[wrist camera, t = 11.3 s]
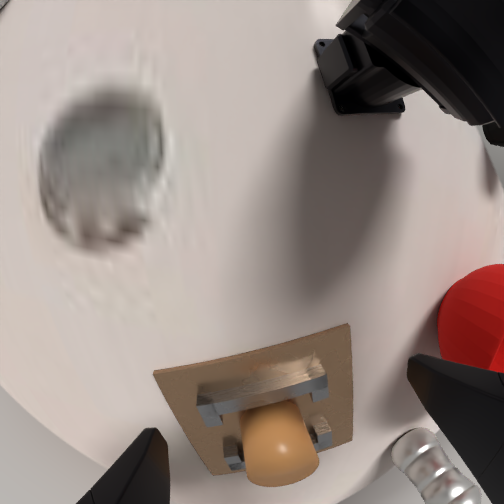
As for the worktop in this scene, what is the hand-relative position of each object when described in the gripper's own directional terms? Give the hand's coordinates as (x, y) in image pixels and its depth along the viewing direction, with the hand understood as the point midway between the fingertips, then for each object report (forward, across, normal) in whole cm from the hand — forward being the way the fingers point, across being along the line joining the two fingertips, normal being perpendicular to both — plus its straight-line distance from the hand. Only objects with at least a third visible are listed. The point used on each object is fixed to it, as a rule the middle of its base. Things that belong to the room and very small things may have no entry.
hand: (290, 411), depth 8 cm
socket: (+12, +1, +13) cm, 18 cm away
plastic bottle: (+12, -16, +28) cm, 34 cm away
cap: (+12, +1, +13) cm, 17 cm away
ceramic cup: (+12, -22, +10) cm, 27 cm away
